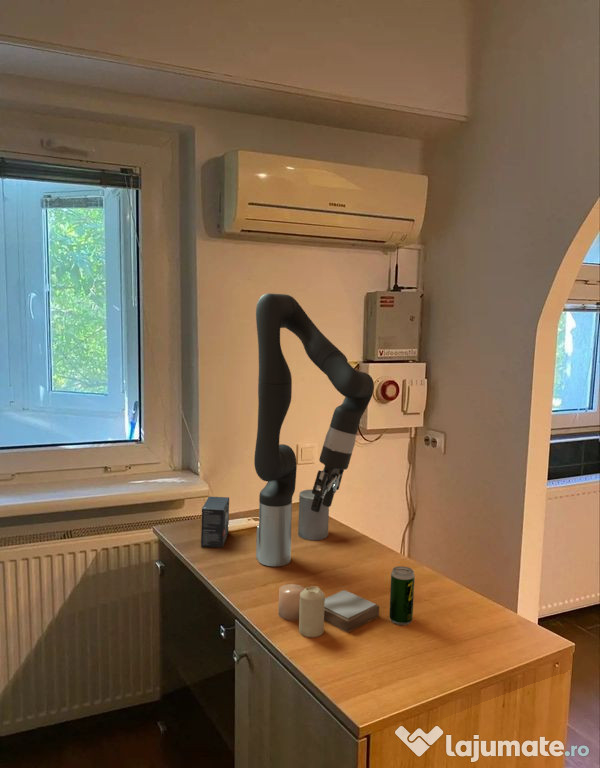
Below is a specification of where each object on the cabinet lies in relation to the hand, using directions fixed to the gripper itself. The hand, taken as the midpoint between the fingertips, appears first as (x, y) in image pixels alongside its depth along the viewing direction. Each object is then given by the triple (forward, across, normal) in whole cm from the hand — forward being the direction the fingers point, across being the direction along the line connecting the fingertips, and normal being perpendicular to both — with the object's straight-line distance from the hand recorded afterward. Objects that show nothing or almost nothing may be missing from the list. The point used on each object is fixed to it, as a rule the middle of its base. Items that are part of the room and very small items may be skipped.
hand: (320, 508), depth 155 cm
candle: (+22, +18, +11) cm, 31 cm away
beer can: (+17, +5, +27) cm, 32 cm away
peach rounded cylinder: (+23, +13, +4) cm, 26 cm away
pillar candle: (+19, -38, -11) cm, 44 cm away
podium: (+20, +8, +15) cm, 26 cm away
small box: (+27, -21, -36) cm, 50 cm away
